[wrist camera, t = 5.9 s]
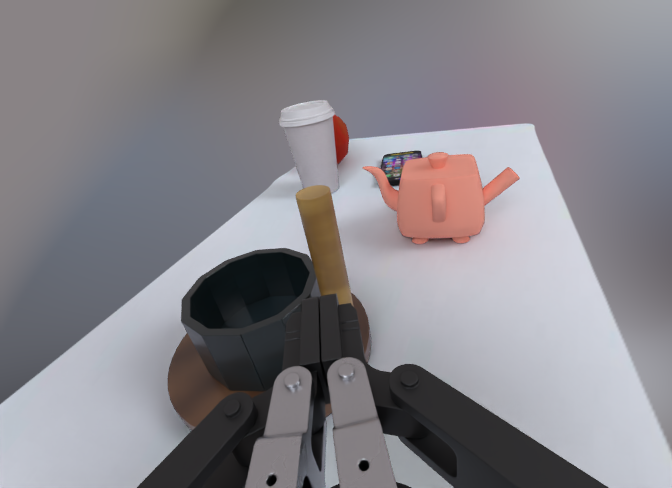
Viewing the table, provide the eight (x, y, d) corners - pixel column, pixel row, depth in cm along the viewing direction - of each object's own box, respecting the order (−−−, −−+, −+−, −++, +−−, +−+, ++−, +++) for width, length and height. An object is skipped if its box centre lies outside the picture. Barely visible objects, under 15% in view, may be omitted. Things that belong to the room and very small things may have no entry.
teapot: (453, 198, 53) (452, 131, 48) (519, 227, 43) (527, 146, 38) (371, 231, 49) (360, 161, 44) (423, 271, 39) (417, 187, 34)
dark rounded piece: (138, 376, 32) (37, 232, 24) (279, 270, 43) (239, 148, 35) (263, 505, 21) (151, 318, 13) (409, 319, 32) (393, 158, 24)
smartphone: (376, 182, 61) (383, 154, 73) (377, 187, 61) (383, 158, 74) (423, 177, 59) (421, 149, 71) (423, 182, 59) (421, 154, 72)
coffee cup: (286, 197, 65) (264, 114, 58) (319, 177, 71) (303, 100, 64) (325, 203, 60) (305, 112, 52) (357, 182, 66) (344, 97, 58)
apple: (358, 165, 74) (349, 108, 68) (311, 176, 73) (299, 119, 67) (346, 153, 83) (337, 101, 77) (305, 163, 82) (293, 112, 76)
